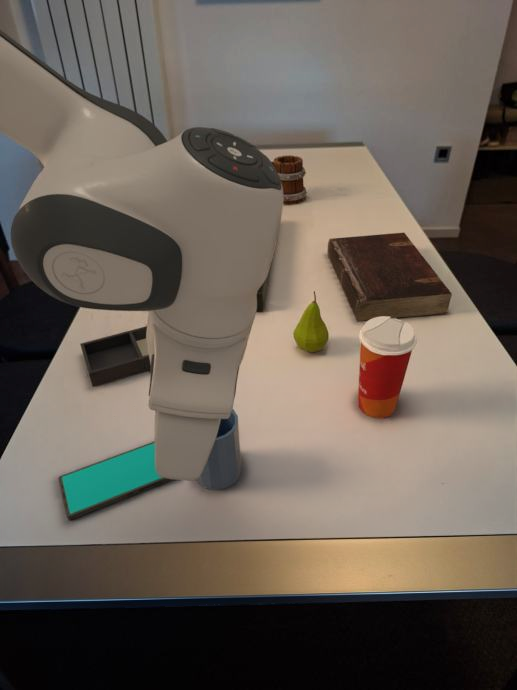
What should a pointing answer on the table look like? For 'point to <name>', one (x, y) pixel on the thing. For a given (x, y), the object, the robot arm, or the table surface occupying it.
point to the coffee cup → (383, 364)
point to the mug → (291, 178)
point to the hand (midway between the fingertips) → (180, 420)
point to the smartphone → (109, 481)
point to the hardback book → (387, 277)
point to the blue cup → (223, 457)
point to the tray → (116, 356)
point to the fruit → (311, 329)
